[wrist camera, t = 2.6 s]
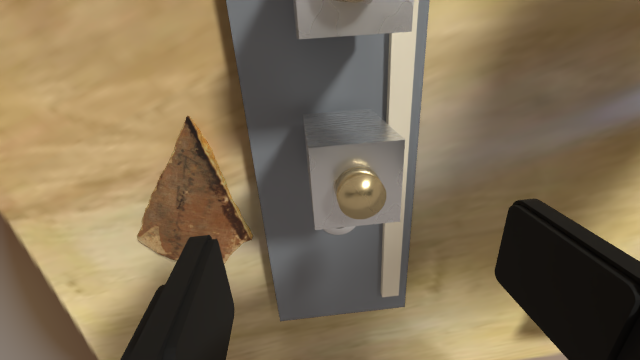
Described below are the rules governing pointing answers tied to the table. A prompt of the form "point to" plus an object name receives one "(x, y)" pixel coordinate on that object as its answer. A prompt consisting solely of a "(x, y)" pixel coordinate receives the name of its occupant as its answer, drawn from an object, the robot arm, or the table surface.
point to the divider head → (353, 168)
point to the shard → (192, 201)
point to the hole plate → (291, 159)
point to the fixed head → (351, 17)
